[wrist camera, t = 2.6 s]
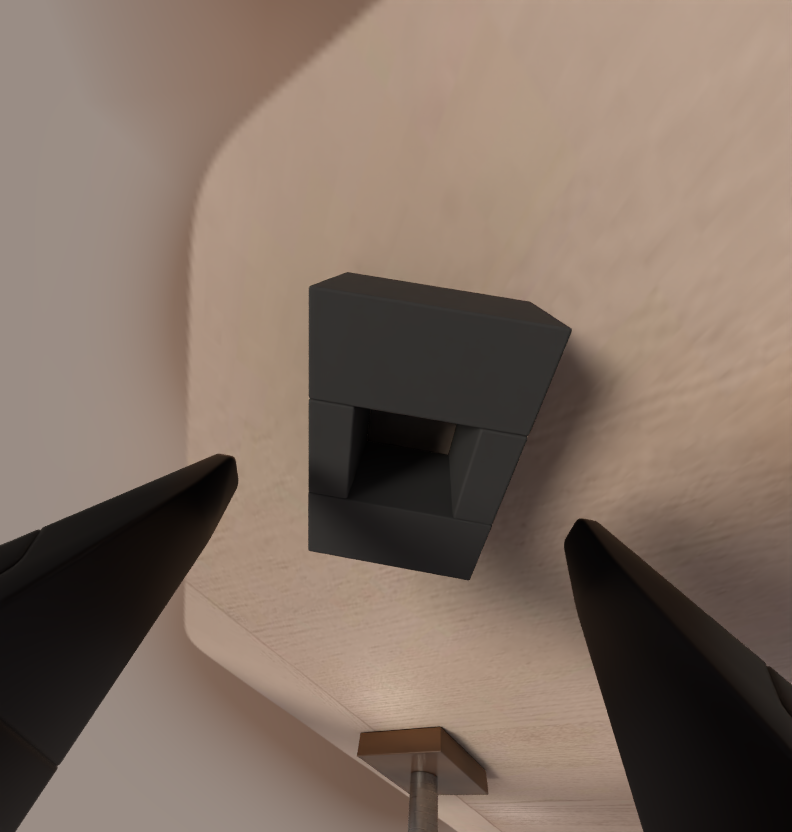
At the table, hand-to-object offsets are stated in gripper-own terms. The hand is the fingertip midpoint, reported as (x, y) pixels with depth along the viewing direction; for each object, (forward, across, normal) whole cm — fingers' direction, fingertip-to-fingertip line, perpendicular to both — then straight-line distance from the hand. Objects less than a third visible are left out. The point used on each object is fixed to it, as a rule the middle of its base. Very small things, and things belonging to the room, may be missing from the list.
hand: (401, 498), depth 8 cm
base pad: (+5, -7, +35) cm, 36 cm away
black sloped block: (+5, 0, 0) cm, 5 cm away
